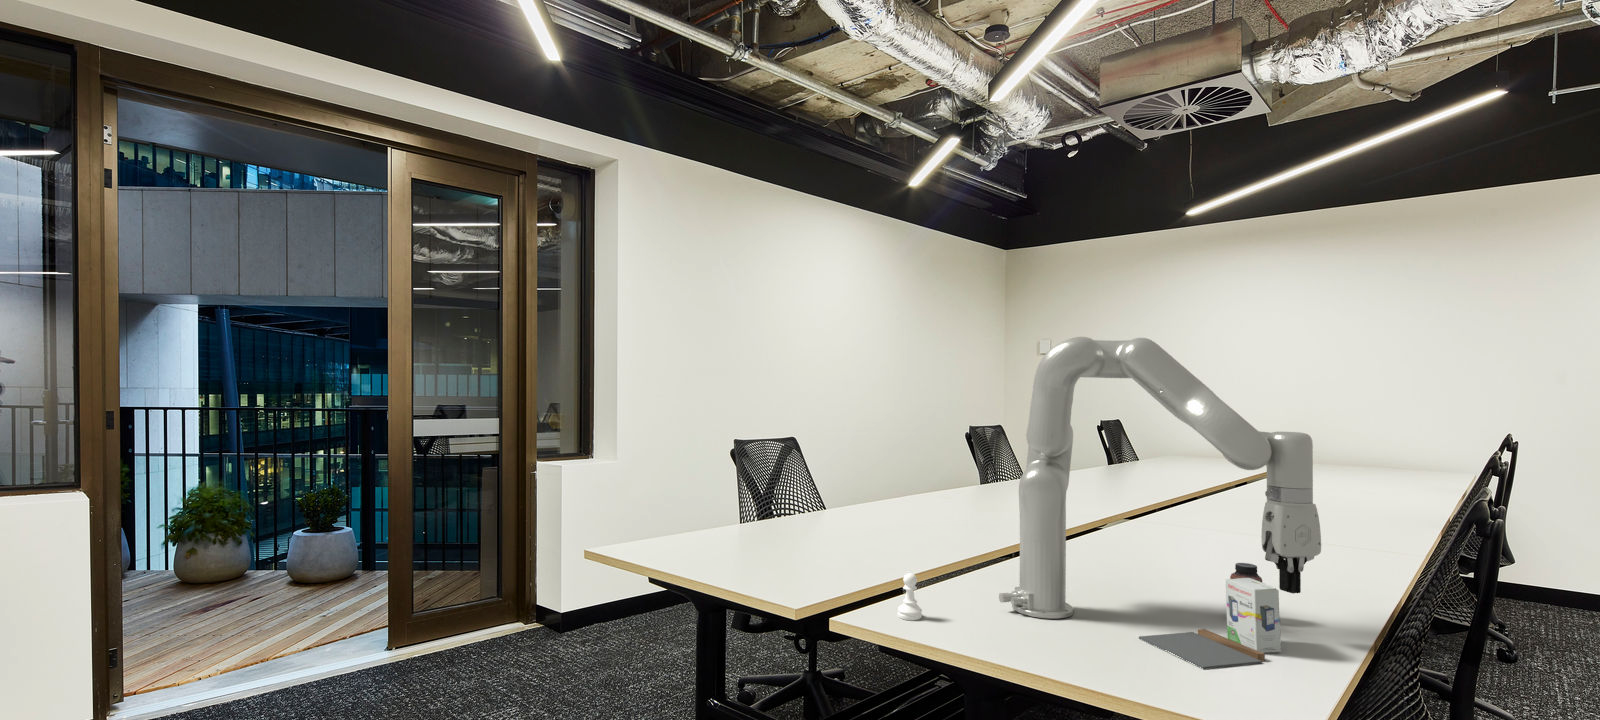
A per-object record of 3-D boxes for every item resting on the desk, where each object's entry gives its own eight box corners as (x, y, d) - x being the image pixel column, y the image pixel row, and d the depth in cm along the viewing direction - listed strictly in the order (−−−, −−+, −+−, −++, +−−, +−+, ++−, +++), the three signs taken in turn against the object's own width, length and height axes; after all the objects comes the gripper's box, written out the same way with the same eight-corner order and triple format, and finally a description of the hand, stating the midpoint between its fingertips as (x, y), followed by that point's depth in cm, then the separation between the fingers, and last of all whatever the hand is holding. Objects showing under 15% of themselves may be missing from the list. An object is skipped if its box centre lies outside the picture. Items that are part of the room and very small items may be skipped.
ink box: (1281, 653, 139) (1281, 588, 139) (1255, 654, 138) (1255, 589, 139) (1249, 637, 147) (1249, 576, 148) (1224, 638, 147) (1224, 577, 147)
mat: (1203, 669, 130) (1203, 666, 130) (1138, 638, 146) (1138, 636, 146) (1261, 663, 134) (1261, 661, 134) (1192, 633, 149) (1192, 631, 149)
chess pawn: (910, 611, 160) (911, 569, 161) (926, 618, 156) (927, 574, 156) (892, 615, 158) (893, 572, 158) (908, 622, 153) (909, 577, 154)
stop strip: (1258, 661, 135) (1258, 654, 135) (1197, 635, 148) (1197, 629, 148) (1264, 660, 135) (1264, 653, 135) (1203, 635, 148) (1203, 628, 149)
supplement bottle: (1267, 623, 156) (1267, 568, 157) (1236, 621, 157) (1236, 567, 158) (1256, 615, 162) (1256, 562, 162) (1225, 613, 163) (1225, 560, 164)
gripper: (1275, 499, 141) (1275, 599, 140) (1337, 497, 144) (1338, 594, 144) (1242, 493, 148) (1242, 588, 147) (1302, 492, 152) (1302, 584, 151)
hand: (1289, 591), depth 146 cm, fingers closed
